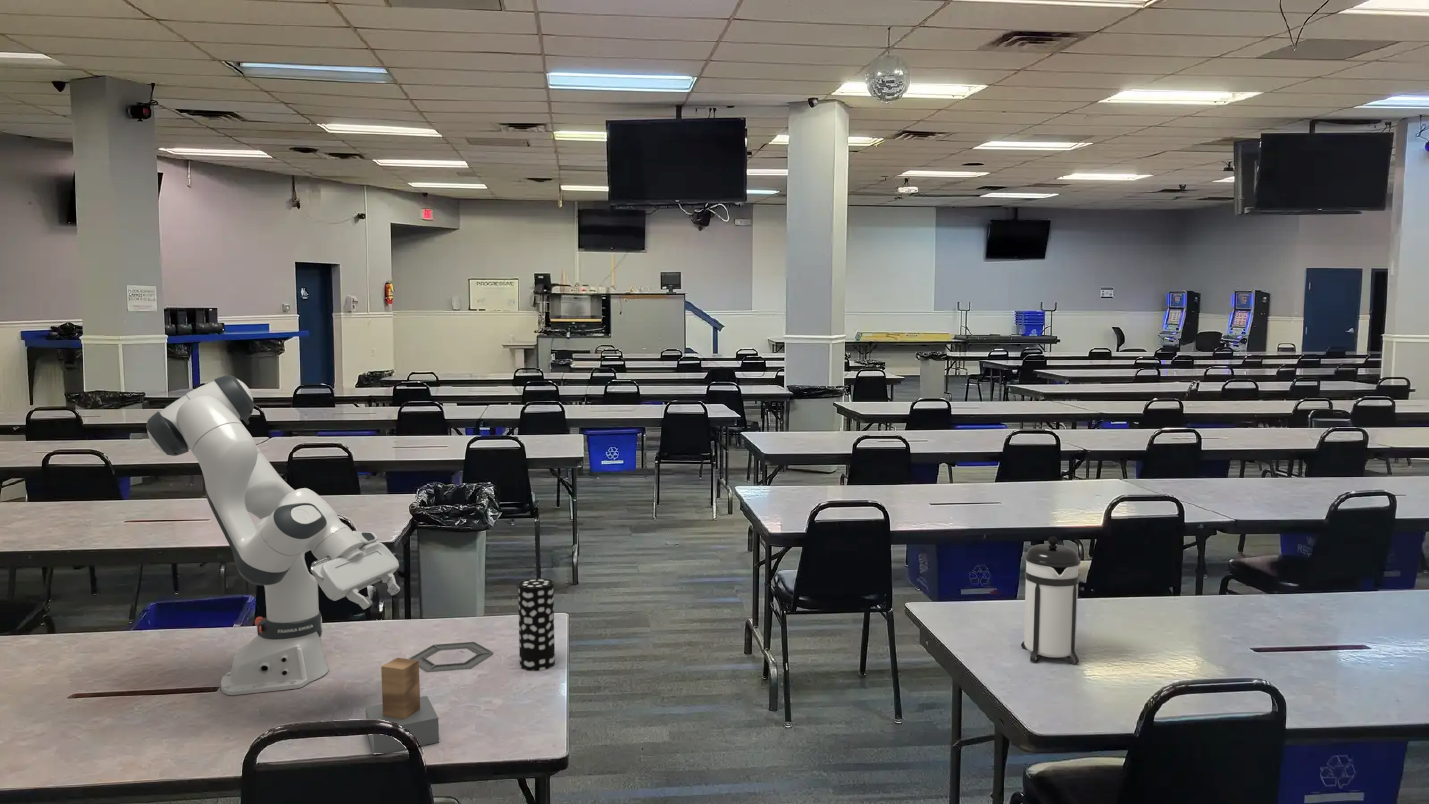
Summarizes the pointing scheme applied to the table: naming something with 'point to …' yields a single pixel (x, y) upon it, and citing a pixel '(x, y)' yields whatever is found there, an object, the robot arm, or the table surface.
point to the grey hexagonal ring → (469, 664)
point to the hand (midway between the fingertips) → (382, 599)
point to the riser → (406, 727)
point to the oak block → (400, 688)
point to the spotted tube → (536, 624)
